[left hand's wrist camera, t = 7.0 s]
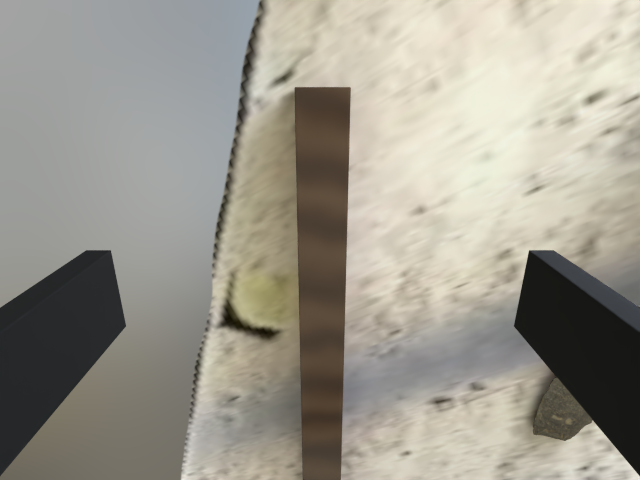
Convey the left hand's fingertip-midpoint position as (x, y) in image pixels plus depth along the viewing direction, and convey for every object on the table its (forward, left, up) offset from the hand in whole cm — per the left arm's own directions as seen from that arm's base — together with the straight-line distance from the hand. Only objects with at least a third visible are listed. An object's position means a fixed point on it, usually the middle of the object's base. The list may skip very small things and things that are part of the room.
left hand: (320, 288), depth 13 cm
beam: (+29, -6, -39) cm, 49 cm away
